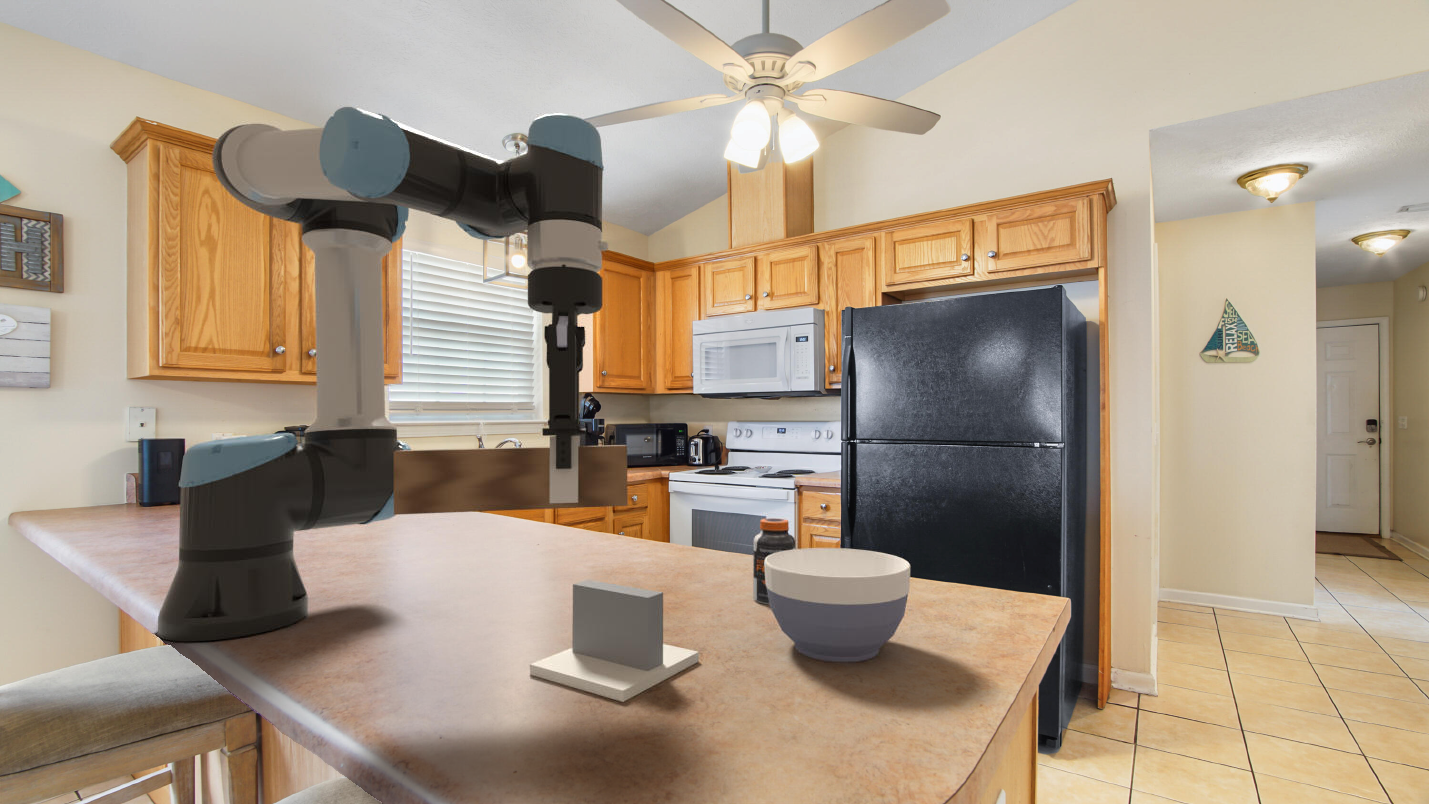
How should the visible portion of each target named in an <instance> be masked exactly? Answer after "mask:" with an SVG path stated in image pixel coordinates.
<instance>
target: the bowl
mask: <svg viewBox="0 0 1429 804" xmlns="http://www.w3.org/2000/svg"><path fill="white" fill-rule="evenodd" d="M764 567H765V583H766V588H767V593H768V598H769V604H768V605H769V607H770V610H771V612H772V613H773V616H774V617H775V620H776V621H777V624H778V626H779V627H780V630H781V631H782V632H783V633H784V634H785V635H786V636H787V637H788V638H789V639H790V640H791V641H792V642H793V643H794V647H795V649H796V651H798V652H799V653H800V654H802V655H804V656H806V657H808V658H811V659H815V660H819V661H822V662H823V661H825V662H830V663H856V662H863V661H867V660H870V659H873V658H875V657H876V656H877V655H878V654H879V652H880V648H881V647H882V646H884V644H886V643H887V642H888V641H889V640H890V639H892V638H893V637H894V636H895V633H896V631H897V630H898V628H899V626H900V624H901V622H902V620H903V618H904V617H905V614H906V608H907V603H908V598H909V593H910V583H911V564H910V563H909V561H907V560H906V559H904V558H902V557H899V556H897V555H894V554H888V553H884V552H881V551H879V552H878V551H874V550H866V549H856V548H855V549H854V548H842V547H808V548H797V549H796V548H795V549H794V550H787V551H781V552H777V553H773V554H771V555H769V556H767V557H766V558H765V561H764Z"/></svg>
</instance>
